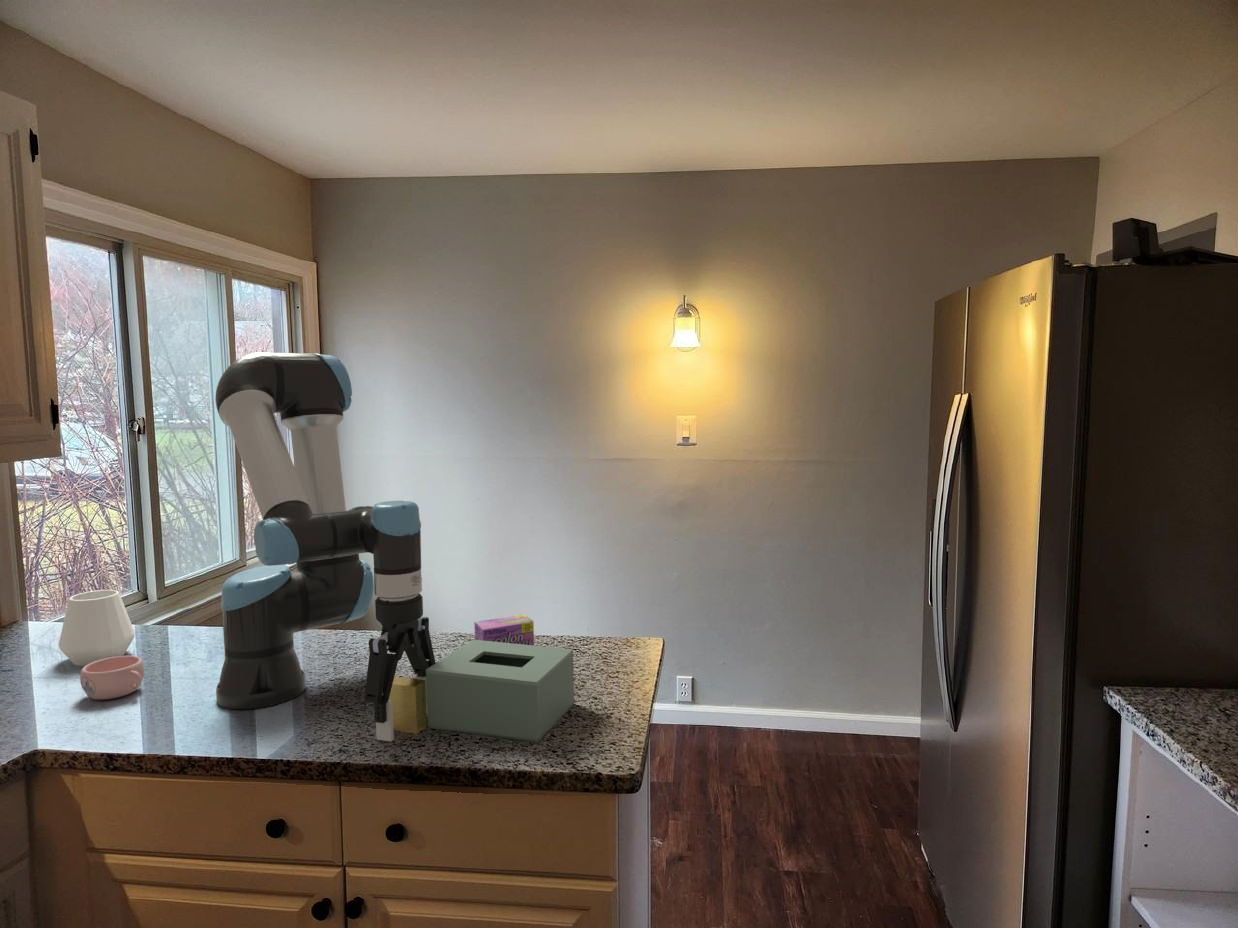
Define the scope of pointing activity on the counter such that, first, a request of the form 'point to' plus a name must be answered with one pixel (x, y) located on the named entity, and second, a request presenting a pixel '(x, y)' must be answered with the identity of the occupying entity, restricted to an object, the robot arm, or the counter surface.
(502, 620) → the box
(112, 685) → the mug
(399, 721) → the tan rectangular block
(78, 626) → the white faceted vase
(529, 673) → the box
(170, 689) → the counter surface
